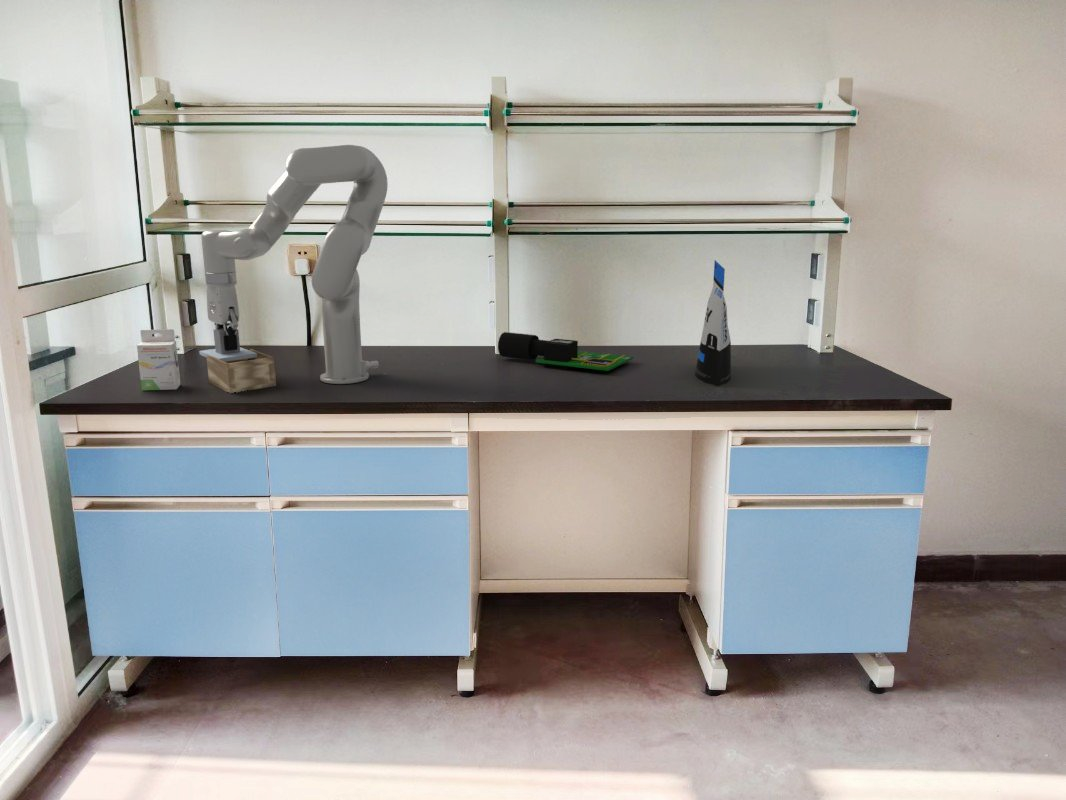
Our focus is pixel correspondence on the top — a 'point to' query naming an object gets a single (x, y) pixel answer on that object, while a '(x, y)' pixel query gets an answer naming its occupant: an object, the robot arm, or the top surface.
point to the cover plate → (229, 356)
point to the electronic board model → (555, 352)
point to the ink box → (158, 360)
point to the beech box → (242, 373)
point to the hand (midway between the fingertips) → (227, 348)
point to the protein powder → (715, 336)
